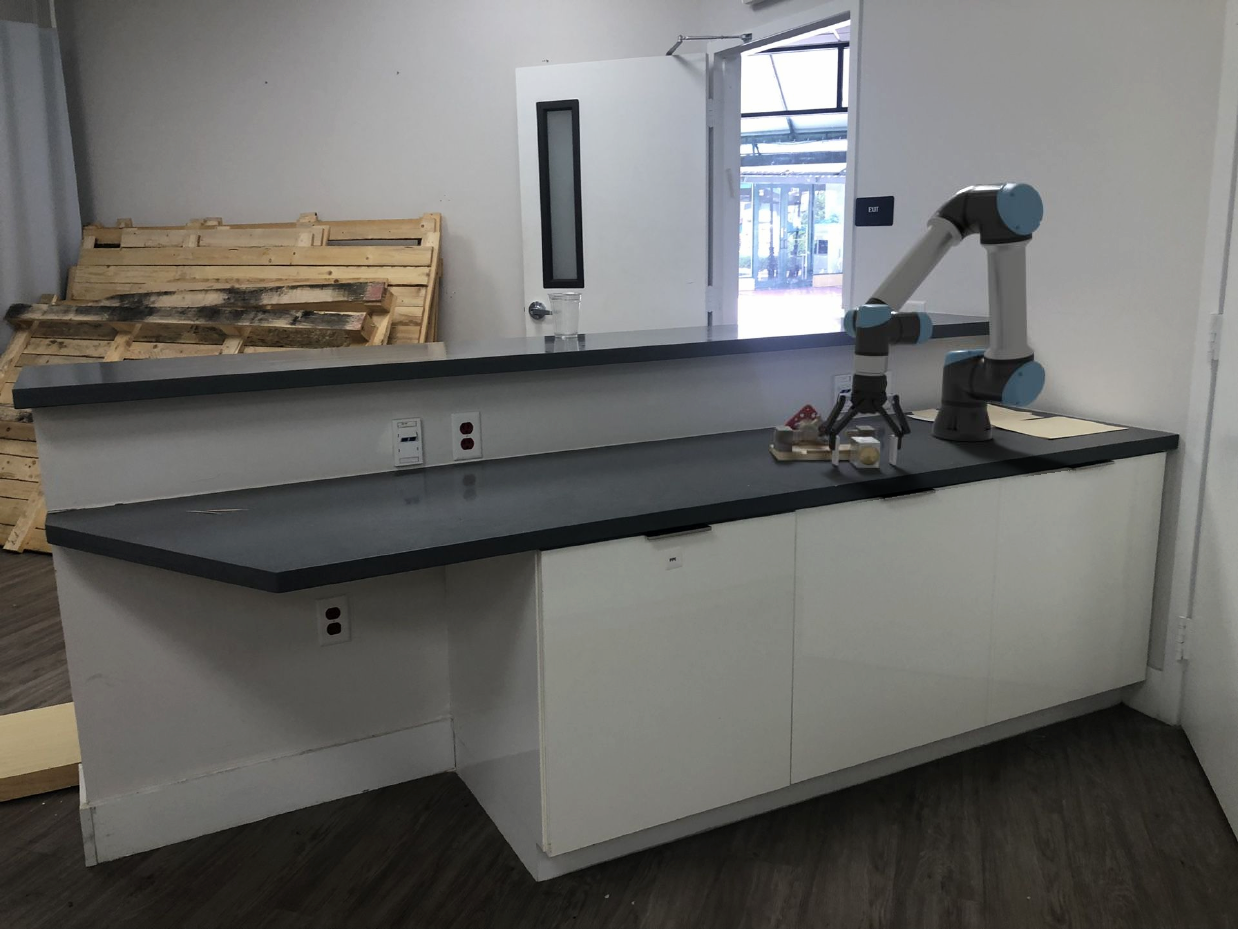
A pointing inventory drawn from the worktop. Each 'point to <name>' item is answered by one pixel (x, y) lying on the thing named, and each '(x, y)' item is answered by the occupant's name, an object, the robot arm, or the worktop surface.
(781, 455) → the shaft bench
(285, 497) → the worktop surface
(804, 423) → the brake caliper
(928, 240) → the robot arm
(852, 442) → the coupler
